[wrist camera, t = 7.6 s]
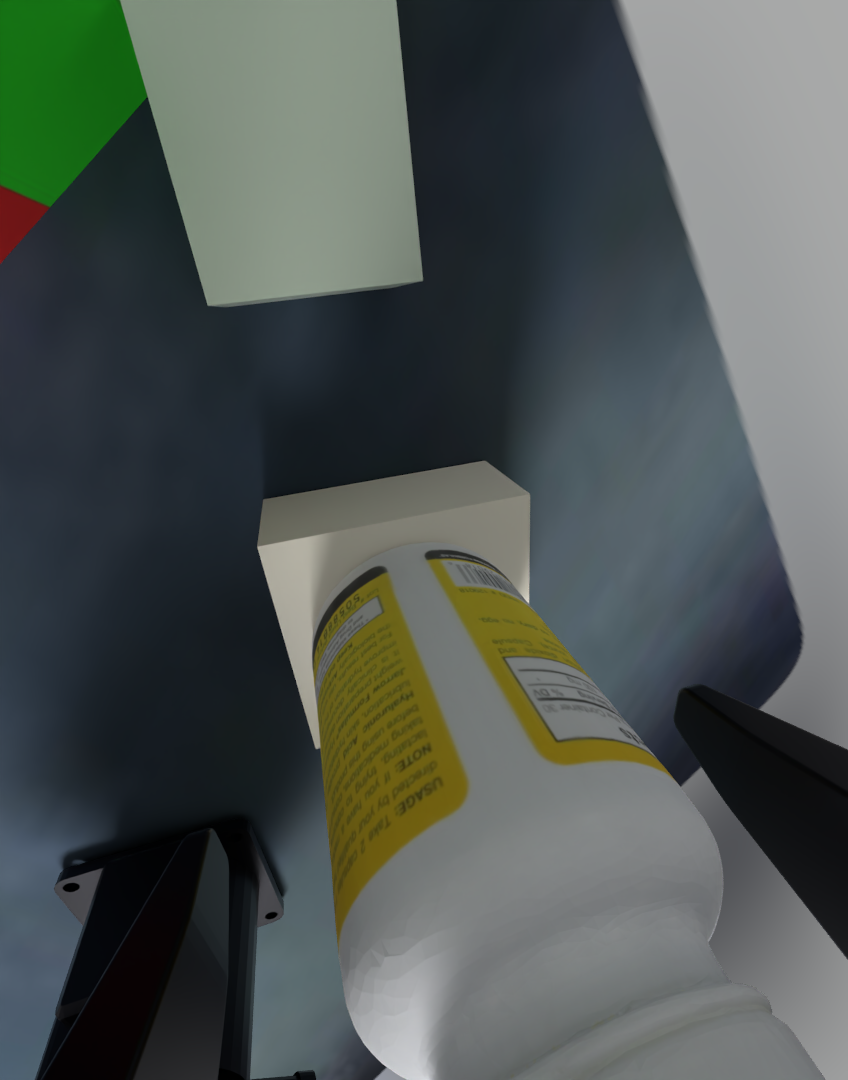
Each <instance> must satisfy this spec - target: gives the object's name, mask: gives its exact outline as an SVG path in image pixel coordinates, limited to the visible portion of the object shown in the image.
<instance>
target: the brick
mask: <svg viewBox="0 0 848 1080" xmlns="http://www.w3.org/2000/svg"><path fill="white" fill-rule="evenodd" d="M120 2H121V5H122V9H123V12H124V16H125V19H126V23H127V26H128V30H129V33H130V36H131V40H132V43H133V47H134V50H135V54H136V57H137V61H138V64H139V68H140V71H141V75H142V78H143V82H144V85H145V89H146V92H147V96H148V99H149V103H150V106H151V110H152V113H153V117H154V120H155V124H156V127H157V131H158V134H159V138H160V141H161V144H162V148H163V151H164V155H165V158H166V162H167V165H168V169H169V172H170V176H171V179H172V183H173V186H174V190H175V193H176V197H177V200H178V204H179V207H180V211H181V214H182V218H183V221H184V225H185V228H186V232H187V235H188V239H189V242H190V246H191V249H192V252H193V256H194V259H195V263H196V266H197V270H198V273H199V277H200V280H201V284H202V287H203V291H204V294H205V298H206V301H207V305H208V306H216V307H233V306H242V305H250V304H259V303H267V302H276V301H284V300H293V299H301V298H310V297H318V296H327V295H335V294H344V293H352V292H361V291H369V290H378V289H386V288H394V287H399V286H403V285H407V284H411V283H416V282H420V281H423V274H422V264H421V254H420V243H419V233H418V222H417V212H416V201H415V191H414V180H413V170H412V160H411V149H410V139H409V128H408V118H407V107H406V97H405V86H404V76H403V65H402V55H401V45H400V34H399V24H398V13H397V3H396V0H120Z"/></svg>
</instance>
